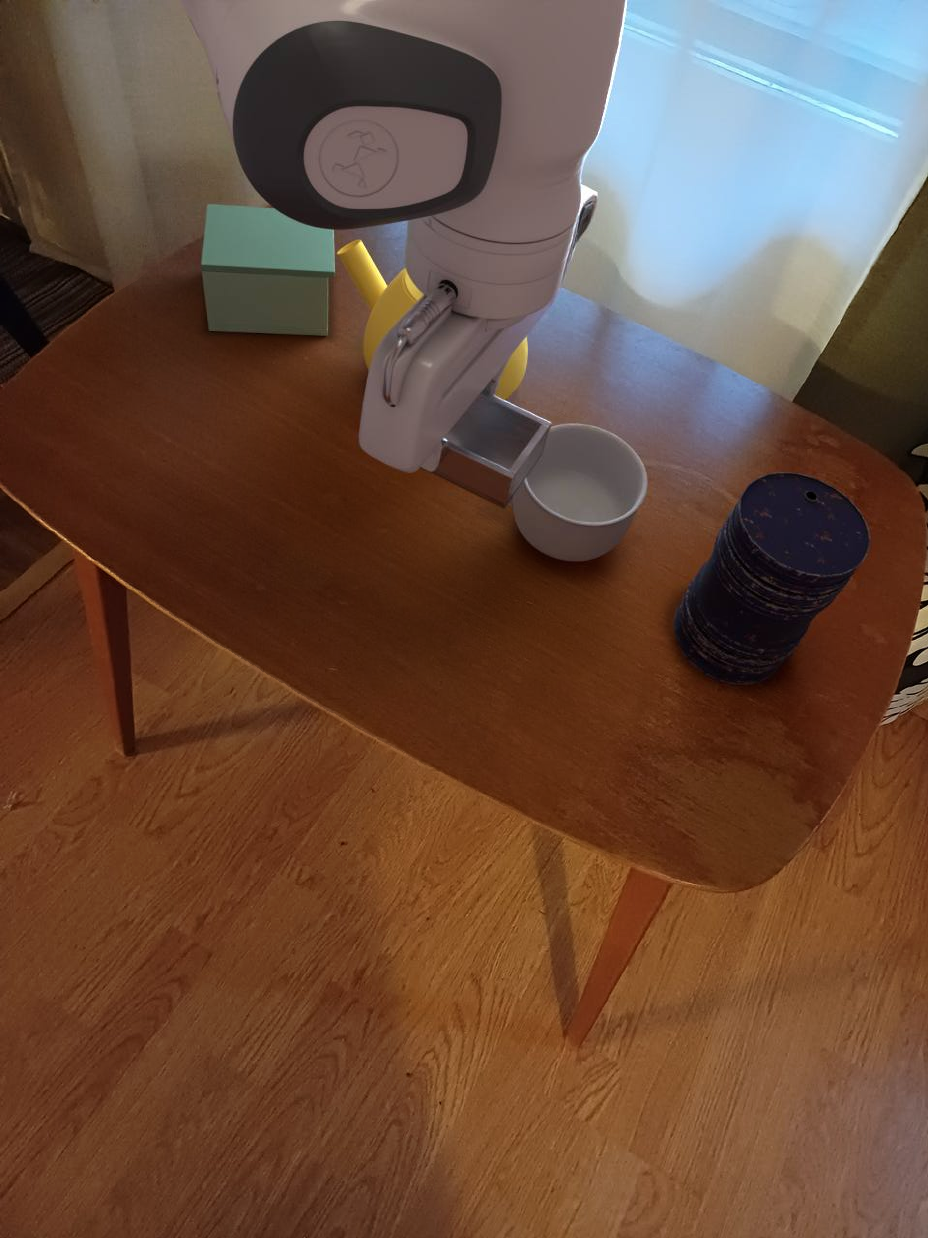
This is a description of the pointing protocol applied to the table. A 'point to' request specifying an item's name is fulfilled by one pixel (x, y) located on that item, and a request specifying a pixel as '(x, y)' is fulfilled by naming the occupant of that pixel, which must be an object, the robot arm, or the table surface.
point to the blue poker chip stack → (769, 576)
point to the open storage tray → (493, 449)
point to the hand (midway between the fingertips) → (455, 427)
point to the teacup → (580, 493)
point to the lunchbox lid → (264, 243)
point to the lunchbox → (266, 303)
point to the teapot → (405, 310)
